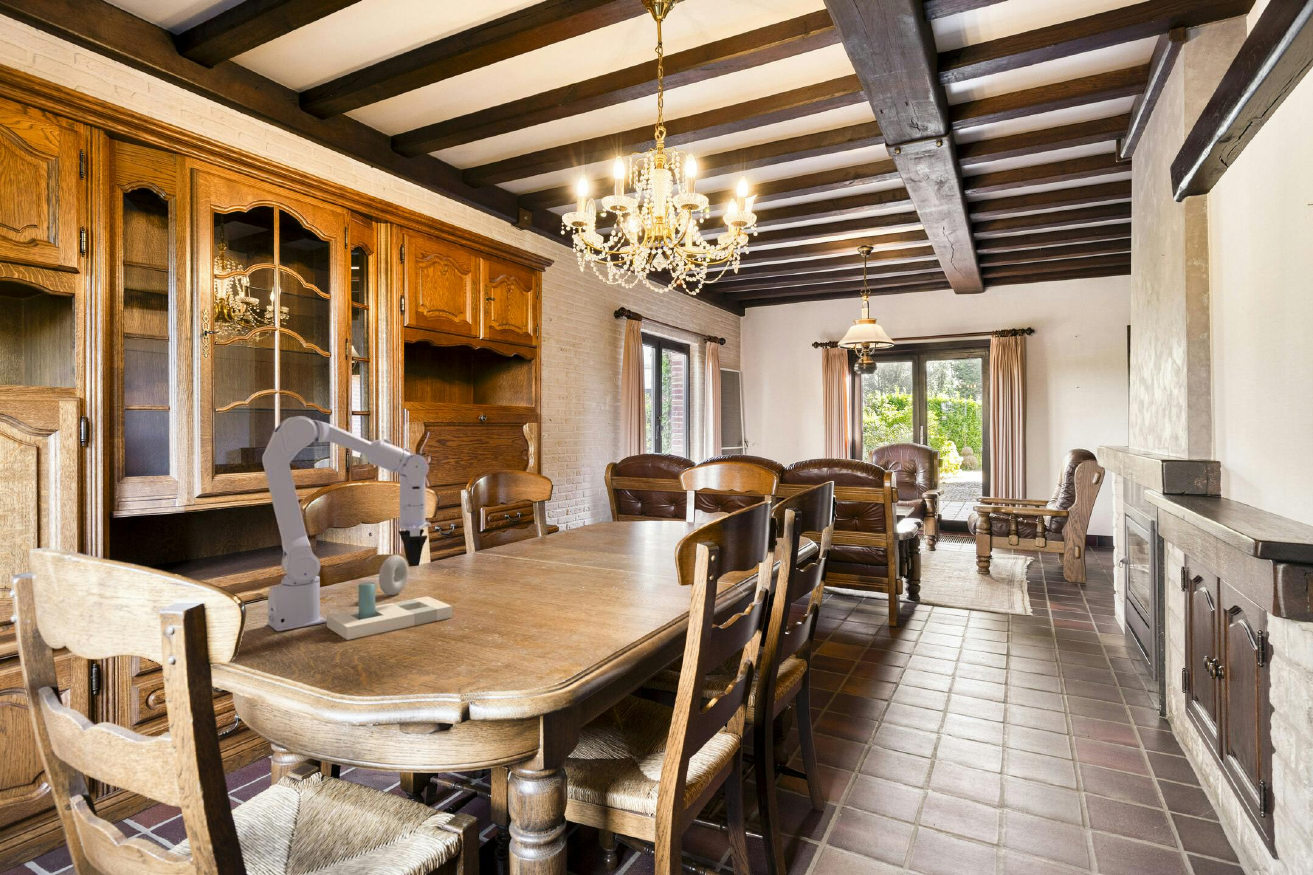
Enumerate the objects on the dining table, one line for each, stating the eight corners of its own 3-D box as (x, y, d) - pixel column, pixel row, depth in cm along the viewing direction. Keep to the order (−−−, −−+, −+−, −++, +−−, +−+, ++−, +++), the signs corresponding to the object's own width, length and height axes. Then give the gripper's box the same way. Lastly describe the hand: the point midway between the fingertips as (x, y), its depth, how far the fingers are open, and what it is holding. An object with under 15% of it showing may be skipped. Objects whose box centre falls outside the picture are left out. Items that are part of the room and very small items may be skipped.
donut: (388, 600, 158) (388, 559, 158) (375, 599, 159) (375, 558, 159) (411, 590, 168) (411, 551, 168) (399, 589, 169) (398, 551, 169)
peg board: (347, 639, 128) (347, 627, 128) (327, 626, 137) (326, 614, 137) (452, 617, 143) (452, 606, 143) (428, 606, 152) (427, 596, 152)
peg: (362, 630, 134) (361, 586, 134) (356, 626, 137) (356, 584, 137) (377, 627, 137) (377, 584, 136) (372, 623, 139) (371, 581, 139)
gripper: (433, 507, 148) (433, 567, 148) (427, 501, 161) (427, 556, 162) (400, 508, 145) (400, 569, 145) (396, 502, 158) (396, 558, 159)
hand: (412, 562), depth 153 cm, fingers open, 7 cm apart
